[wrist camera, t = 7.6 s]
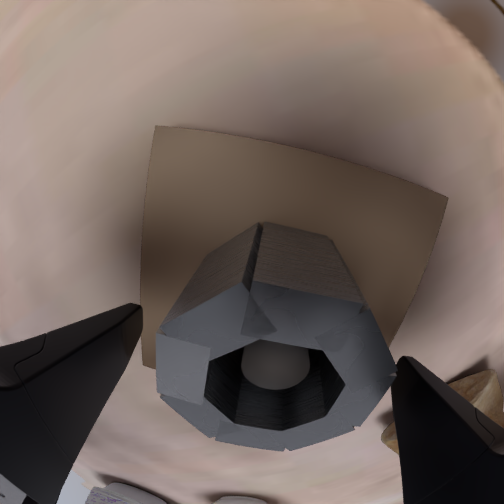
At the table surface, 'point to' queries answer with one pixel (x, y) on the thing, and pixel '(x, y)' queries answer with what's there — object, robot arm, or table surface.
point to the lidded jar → (239, 500)
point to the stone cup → (473, 390)
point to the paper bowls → (121, 495)
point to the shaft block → (284, 213)
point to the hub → (276, 330)
